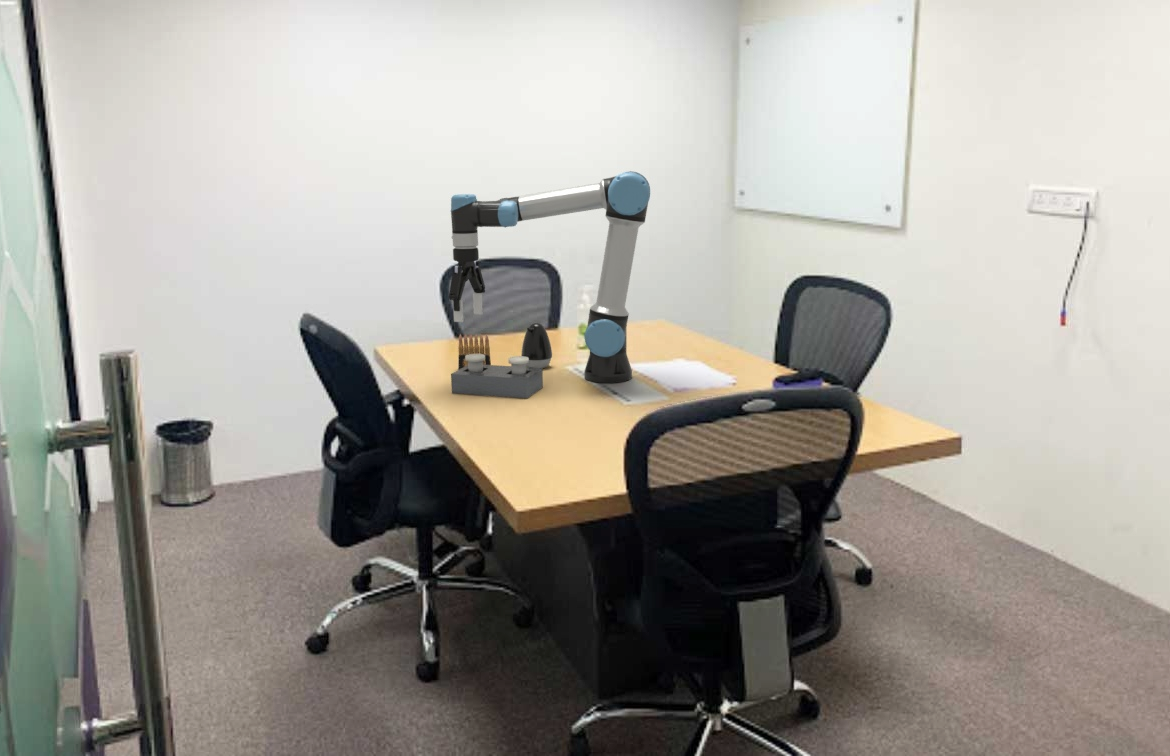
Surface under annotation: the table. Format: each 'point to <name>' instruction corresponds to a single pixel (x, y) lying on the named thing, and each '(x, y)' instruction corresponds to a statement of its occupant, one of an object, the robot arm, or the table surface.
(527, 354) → the pump dispenser
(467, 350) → the ammunition clip
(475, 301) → the robot arm
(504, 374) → the housing
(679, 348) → the table surface
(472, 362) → the knob far
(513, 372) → the knob near
